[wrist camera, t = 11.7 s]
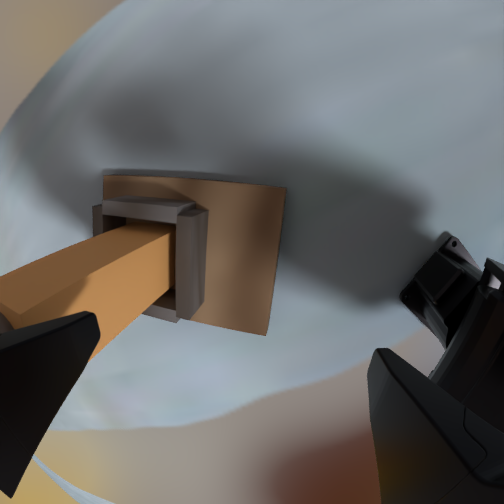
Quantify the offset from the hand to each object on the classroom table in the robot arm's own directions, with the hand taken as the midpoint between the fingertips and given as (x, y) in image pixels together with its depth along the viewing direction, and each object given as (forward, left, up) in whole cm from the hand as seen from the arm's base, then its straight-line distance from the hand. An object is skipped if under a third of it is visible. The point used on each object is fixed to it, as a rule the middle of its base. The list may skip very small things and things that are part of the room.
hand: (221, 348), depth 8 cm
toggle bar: (+6, +6, -12) cm, 15 cm away
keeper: (+5, +5, -13) cm, 15 cm away
